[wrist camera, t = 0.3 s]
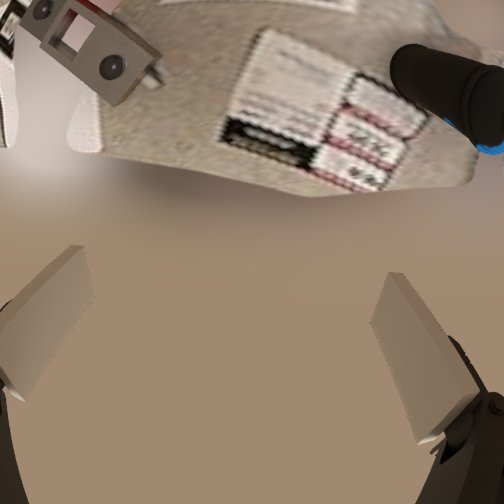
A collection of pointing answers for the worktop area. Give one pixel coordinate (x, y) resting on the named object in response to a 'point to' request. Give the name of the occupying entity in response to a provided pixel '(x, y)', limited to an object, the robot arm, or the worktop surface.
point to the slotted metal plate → (92, 47)
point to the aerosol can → (454, 92)
